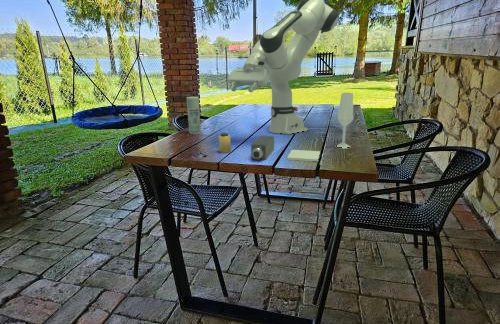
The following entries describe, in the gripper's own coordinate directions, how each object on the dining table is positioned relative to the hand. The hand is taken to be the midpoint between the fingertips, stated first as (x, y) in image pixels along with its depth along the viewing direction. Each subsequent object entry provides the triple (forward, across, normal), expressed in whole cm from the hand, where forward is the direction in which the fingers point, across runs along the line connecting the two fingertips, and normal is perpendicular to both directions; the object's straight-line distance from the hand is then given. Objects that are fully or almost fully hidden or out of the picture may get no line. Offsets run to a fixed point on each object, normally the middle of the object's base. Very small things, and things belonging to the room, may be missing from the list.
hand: (241, 91), depth 138 cm
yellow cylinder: (+26, -1, +9) cm, 28 cm away
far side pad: (+19, +32, +16) cm, 41 cm away
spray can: (+11, -40, +26) cm, 49 cm away
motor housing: (+23, +16, +13) cm, 31 cm away
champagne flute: (+2, +41, +33) cm, 53 cm away
